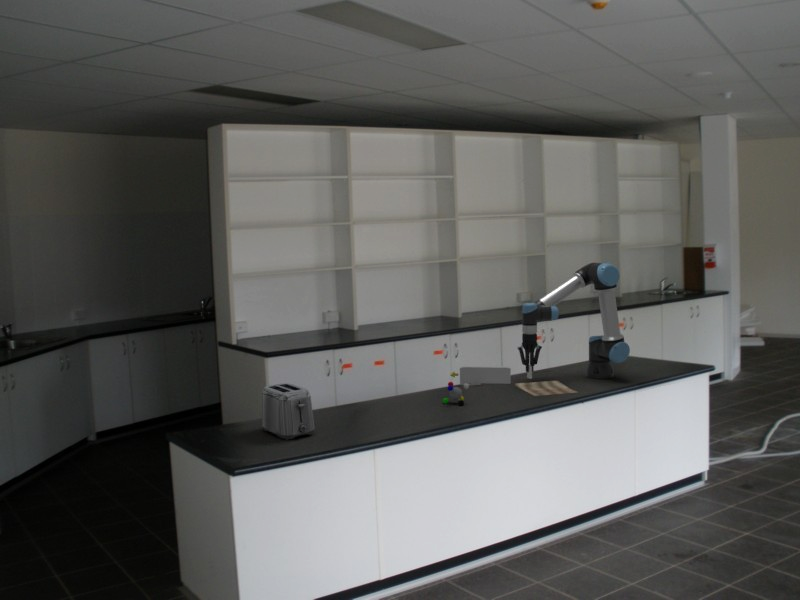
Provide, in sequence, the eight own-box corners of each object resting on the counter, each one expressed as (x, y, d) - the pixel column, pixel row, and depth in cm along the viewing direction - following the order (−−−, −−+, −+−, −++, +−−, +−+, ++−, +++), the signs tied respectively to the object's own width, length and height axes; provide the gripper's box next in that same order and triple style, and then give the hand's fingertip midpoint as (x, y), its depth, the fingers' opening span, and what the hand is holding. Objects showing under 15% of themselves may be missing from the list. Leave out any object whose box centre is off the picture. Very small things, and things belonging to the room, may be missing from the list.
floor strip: (569, 390, 393) (569, 388, 392) (578, 394, 383) (578, 392, 383) (526, 393, 387) (526, 391, 387) (534, 398, 377) (534, 395, 377)
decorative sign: (510, 384, 410) (510, 366, 409) (510, 386, 406) (510, 367, 405) (450, 383, 415) (450, 365, 414) (450, 385, 412) (449, 367, 411)
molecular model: (472, 402, 372) (472, 382, 371) (459, 407, 361) (459, 387, 360) (452, 399, 378) (452, 380, 377) (439, 404, 368) (438, 384, 367)
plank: (557, 382, 406) (557, 380, 406) (569, 390, 393) (569, 388, 393) (515, 385, 400) (515, 383, 400) (525, 393, 387) (526, 391, 387)
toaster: (284, 443, 308) (283, 396, 306) (253, 427, 332) (251, 384, 330) (321, 435, 317) (319, 390, 315) (288, 421, 341) (286, 379, 339)
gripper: (538, 331, 399) (538, 375, 402) (515, 332, 396) (515, 377, 399) (544, 333, 392) (544, 378, 395) (520, 334, 389) (520, 380, 391)
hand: (529, 378), depth 397 cm, fingers closed
